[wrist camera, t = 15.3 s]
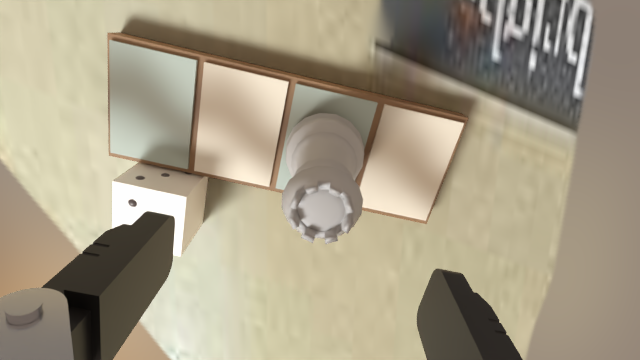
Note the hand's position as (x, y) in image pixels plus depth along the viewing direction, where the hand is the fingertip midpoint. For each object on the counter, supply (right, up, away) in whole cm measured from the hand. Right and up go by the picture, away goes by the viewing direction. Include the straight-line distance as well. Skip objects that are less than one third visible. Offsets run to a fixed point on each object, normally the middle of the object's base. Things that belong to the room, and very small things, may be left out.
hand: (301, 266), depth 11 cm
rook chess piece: (+1, +4, +10) cm, 11 cm away
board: (-2, +6, +11) cm, 12 cm away
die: (-9, +2, +13) cm, 16 cm away
